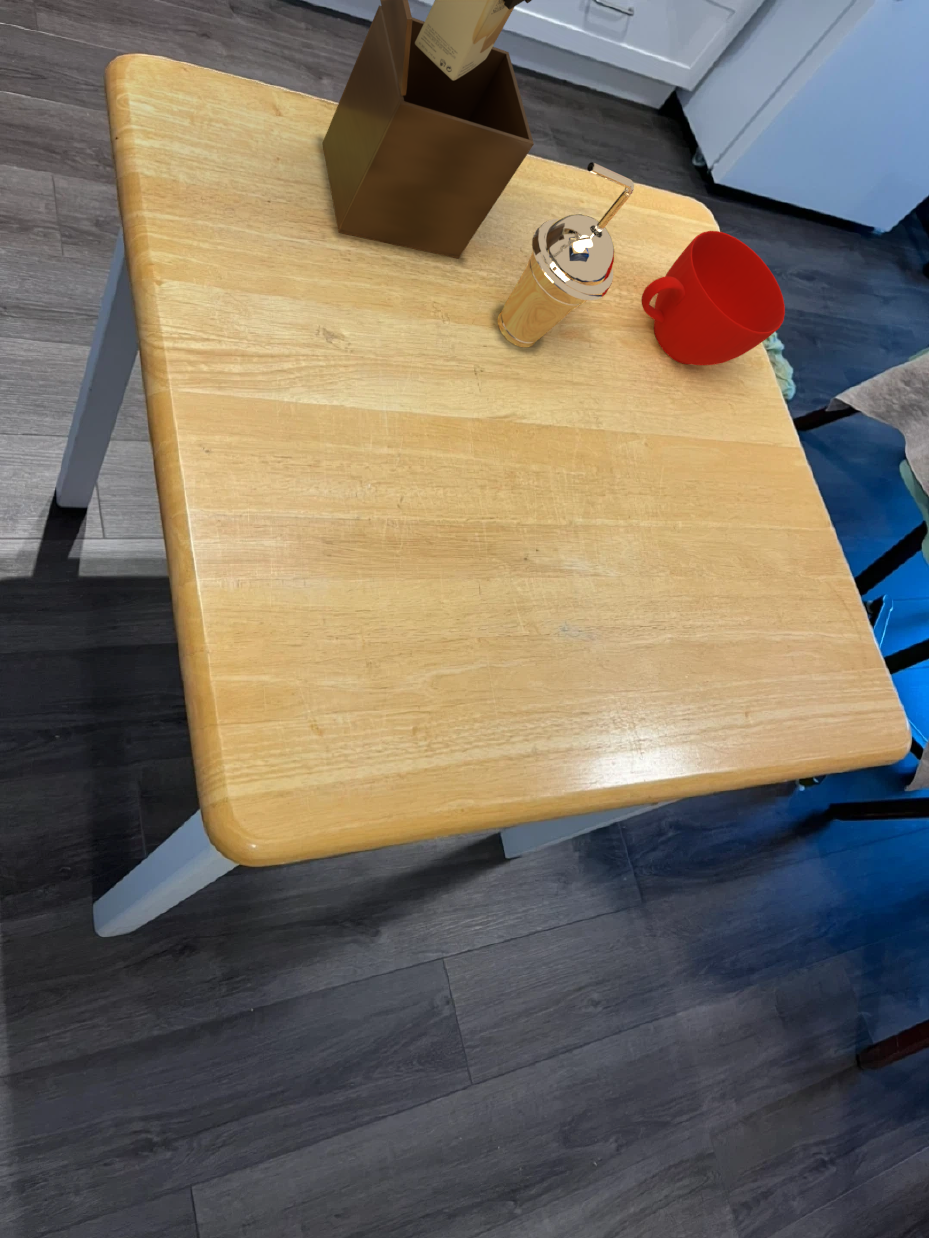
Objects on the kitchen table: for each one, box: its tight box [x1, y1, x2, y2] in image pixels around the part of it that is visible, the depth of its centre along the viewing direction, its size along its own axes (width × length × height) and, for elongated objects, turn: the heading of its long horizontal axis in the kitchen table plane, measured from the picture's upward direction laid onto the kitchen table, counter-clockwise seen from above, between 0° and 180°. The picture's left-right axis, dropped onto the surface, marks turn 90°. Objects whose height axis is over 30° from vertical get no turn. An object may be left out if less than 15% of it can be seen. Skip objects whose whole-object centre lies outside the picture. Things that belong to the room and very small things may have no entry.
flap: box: [380, 0, 413, 95], centre depth 68 cm, size 6×11×1 cm
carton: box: [322, 4, 535, 259], centre depth 80 cm, size 13×11×14 cm
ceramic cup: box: [640, 230, 786, 366], centre depth 95 cm, size 13×17×10 cm
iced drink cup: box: [497, 161, 635, 348], centre depth 80 cm, size 8×9×20 cm
